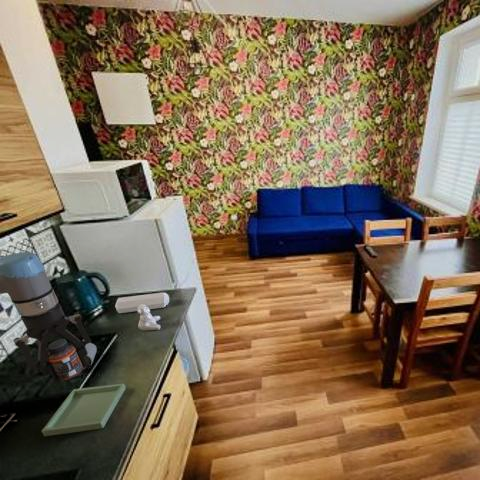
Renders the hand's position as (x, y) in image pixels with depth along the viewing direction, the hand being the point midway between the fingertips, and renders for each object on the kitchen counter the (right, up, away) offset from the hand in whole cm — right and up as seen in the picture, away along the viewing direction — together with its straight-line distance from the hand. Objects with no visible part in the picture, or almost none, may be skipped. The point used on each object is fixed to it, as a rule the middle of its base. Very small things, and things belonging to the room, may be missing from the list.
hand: (71, 371), depth 79 cm
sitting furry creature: (-3, 0, +42) cm, 42 cm away
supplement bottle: (0, -1, 0) cm, 1 cm away
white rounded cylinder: (-15, +5, +55) cm, 57 cm away
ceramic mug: (-17, -9, +22) cm, 29 cm away
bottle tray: (0, -15, +6) cm, 17 cm away
